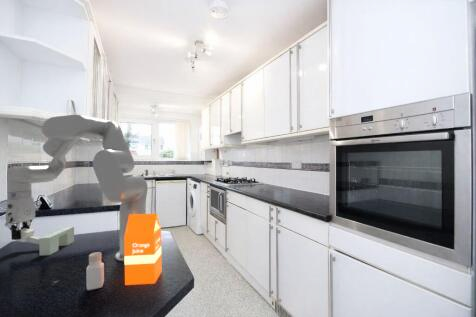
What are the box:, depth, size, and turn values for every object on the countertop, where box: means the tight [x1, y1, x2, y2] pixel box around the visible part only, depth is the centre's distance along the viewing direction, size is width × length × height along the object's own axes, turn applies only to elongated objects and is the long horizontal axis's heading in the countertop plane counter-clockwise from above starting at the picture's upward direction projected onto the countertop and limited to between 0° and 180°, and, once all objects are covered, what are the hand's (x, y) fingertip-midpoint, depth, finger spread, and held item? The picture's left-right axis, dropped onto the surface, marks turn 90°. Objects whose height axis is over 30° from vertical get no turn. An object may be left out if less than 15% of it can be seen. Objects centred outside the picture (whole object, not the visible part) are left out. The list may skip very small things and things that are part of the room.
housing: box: [38, 226, 75, 256], centre depth 101 cm, size 4×16×7 cm, turn 6°
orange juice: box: [123, 213, 163, 286], centre depth 72 cm, size 8×9×20 cm
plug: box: [15, 228, 41, 245], centre depth 100 cm, size 14×4×4 cm, turn 96°
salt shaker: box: [85, 251, 105, 291], centre depth 68 cm, size 4×4×10 cm
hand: (20, 237), depth 99 cm, fingers closed on plug, 4 cm apart
